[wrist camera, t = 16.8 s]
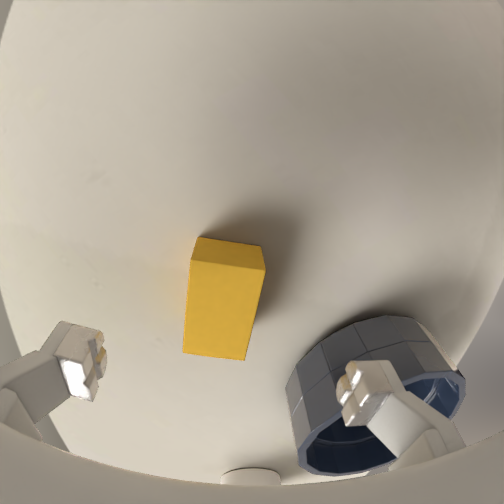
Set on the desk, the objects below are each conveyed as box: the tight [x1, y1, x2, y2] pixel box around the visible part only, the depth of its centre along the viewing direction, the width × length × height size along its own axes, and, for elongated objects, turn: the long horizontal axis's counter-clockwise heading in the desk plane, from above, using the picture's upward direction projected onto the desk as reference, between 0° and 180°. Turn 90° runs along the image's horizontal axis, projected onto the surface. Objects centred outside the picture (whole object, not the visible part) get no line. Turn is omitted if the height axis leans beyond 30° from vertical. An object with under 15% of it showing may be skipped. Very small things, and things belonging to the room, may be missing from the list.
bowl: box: [286, 315, 465, 476], centre depth 16 cm, size 11×11×6 cm
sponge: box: [183, 237, 266, 361], centre depth 14 cm, size 5×3×2 cm, turn 169°
